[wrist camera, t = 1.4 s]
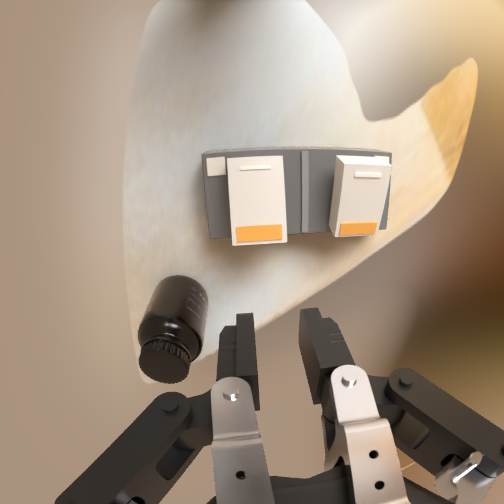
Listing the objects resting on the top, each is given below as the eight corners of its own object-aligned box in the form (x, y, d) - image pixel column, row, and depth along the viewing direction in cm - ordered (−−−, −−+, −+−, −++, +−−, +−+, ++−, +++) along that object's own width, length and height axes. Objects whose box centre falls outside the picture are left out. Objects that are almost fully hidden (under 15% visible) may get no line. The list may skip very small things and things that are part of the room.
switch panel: (206, 151, 26) (201, 154, 23) (374, 149, 27) (393, 153, 23) (213, 225, 30) (209, 240, 26) (370, 217, 30) (387, 230, 26)
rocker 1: (228, 161, 23) (226, 157, 21) (279, 159, 23) (282, 155, 21) (233, 242, 24) (232, 246, 22) (283, 239, 24) (287, 242, 22)
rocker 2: (336, 155, 21) (345, 164, 20) (381, 157, 21) (392, 166, 20) (328, 225, 26) (335, 238, 24) (369, 223, 26) (377, 235, 24)
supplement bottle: (172, 324, 35) (153, 394, 24) (145, 284, 33) (112, 350, 22) (218, 309, 34) (211, 383, 23) (193, 265, 32) (172, 333, 21)
